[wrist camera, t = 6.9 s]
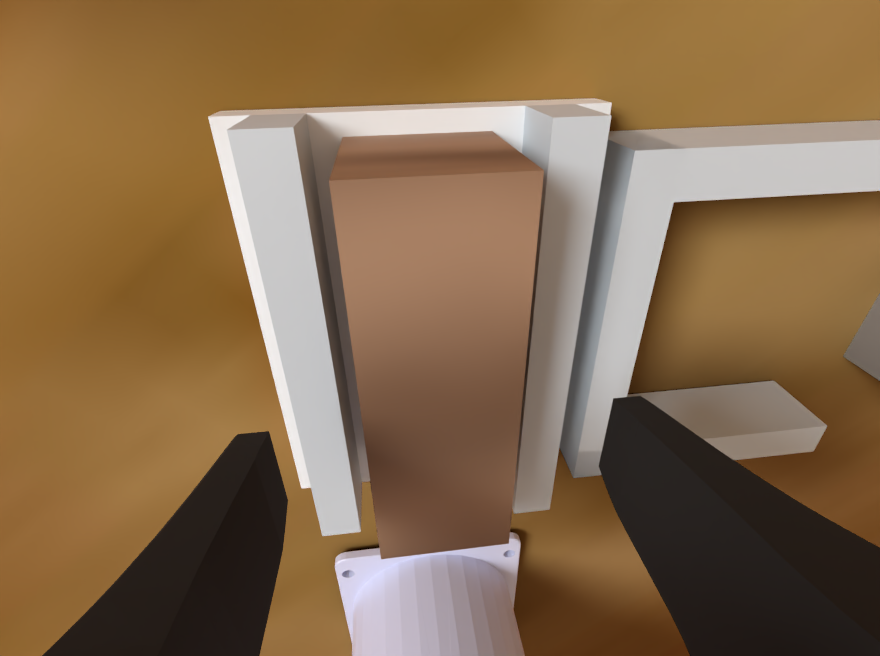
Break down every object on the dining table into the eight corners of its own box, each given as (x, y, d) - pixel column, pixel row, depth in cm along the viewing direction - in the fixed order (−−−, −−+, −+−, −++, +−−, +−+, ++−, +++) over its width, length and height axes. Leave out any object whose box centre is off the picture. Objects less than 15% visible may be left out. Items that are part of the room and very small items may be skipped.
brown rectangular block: (342, 136, 11) (328, 180, 7) (492, 131, 11) (543, 171, 8) (379, 449, 16) (381, 559, 13) (480, 439, 16) (508, 543, 13)
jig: (756, 419, 19) (815, 478, 17) (305, 466, 17) (293, 539, 15) (903, 88, 13) (1033, 100, 10) (220, 111, 11) (175, 131, 9)
